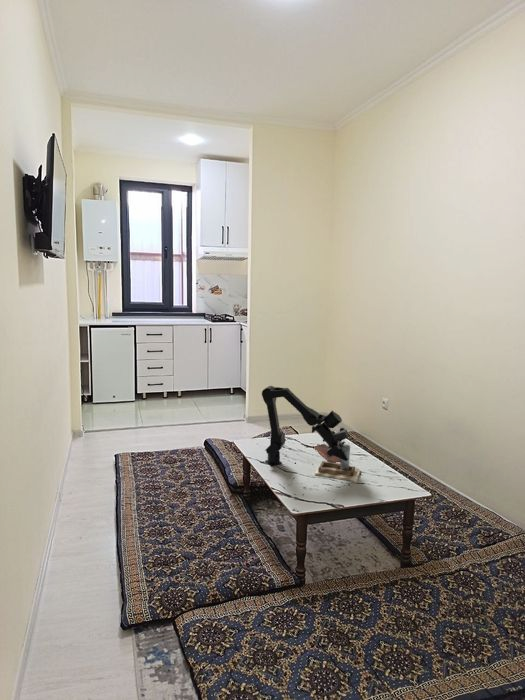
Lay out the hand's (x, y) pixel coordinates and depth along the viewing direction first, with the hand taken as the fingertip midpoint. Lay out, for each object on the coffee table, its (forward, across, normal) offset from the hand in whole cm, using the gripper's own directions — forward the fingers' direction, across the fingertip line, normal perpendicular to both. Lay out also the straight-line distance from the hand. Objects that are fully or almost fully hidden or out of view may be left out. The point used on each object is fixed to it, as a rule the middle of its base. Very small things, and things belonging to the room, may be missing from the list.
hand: (347, 458), depth 228 cm
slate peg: (+4, 0, +6) cm, 7 cm away
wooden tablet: (-4, +24, +16) cm, 29 cm away
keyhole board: (+2, 0, +9) cm, 9 cm away
